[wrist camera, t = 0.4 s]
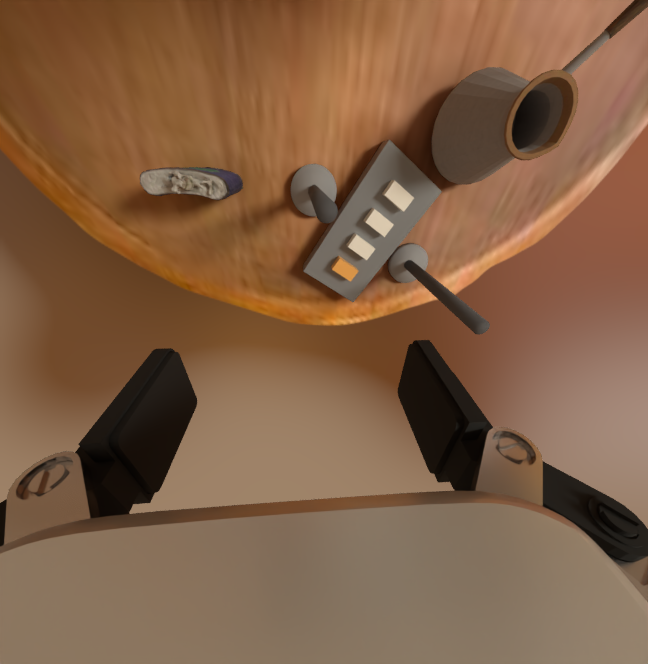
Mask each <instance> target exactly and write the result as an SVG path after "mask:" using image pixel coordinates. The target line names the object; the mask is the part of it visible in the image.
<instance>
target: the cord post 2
mask: <svg viewBox="0 0 648 664" xmlns="http://www.w3.org/2000/svg"><path fill="white" fill-rule="evenodd" d="M427 264H428V256H427V253H426V251H425V250H424V249H423V248H422V247H420V246H419V245H417V244H414V243H407V244H403V245H401V246H399V247H398V248H396V249H395V251H394V252H393V253H392V254H391V256H390V258H389V261H388V270H389V273H390V274H391V276H392V277H393V278H394V279H395V280H397V281H399V282H402V283H408V282H412V281H414V280H416V279H417V280H418V281H419V282H420V283H422V284H423V285H424V286H425V287H426V288H427V289H428V290H429V291H430V292H431V293H432V294H433V295H434V296H435V297H436V298H438V299H439V300H440V301H441V302H442V303H443V304H444V305H445V306H446V307H447V308H448V309H449V310H450V311H452V312H453V313H454V314H455V315H456V316H457V317H458V318H459V319H460V320H461V321H462V322H463V323H464V324H465V325H467V326H468V327H469V328H470V329H471V330H472V331H473V332H474V333H475V334H482V333H484V332H486V331H487V330H488V329H489V326H490V324H489V322H488V321H486V320H485V319H484V318H483V317H481V316H480V315H479V314H477V313H476V312H475V311H474V310H473V309H472V308H470V307H469V306H468V305H467V304H465V303H464V302H463V301H462V300H460V299H459V298H458V297H457V296H455V295H454V294H453V293H452V292H450V291H449V290H448V289H447V288H446V287H444V286H443V285H442V284H441V283H439V282H438V281H437V280H436V279H434V278H433V277H432V276H431V275H429V274H428V273H427V272H426V271H425V269H426V267H427Z"/></svg>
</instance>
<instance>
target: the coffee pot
mask: <svg viewBox="0 0 648 664" xmlns="http://www.w3.org/2000/svg"><path fill="white" fill-rule="evenodd" d="M647 7H648V0H634V1H633V2H632V3H631V4H630V5H629V6H628V7H627V8H626V9H625V10H624V11H623V12H622V13H621V14H620V15H619V16H618V17H617V18H616V19H615V20H614V21H613V22H612V23H611V24H610V25H609V26H608V27H607V28H606V29H605V30H604V32H603V33H602V34H601V35H600V36H598V37H597V38H596V39H595V40H594V41H593V42H592V43H591V44H590V45H588V46H587V47H586V48H585V49H584V50H583V51H582V52H581V53H580V54H579V55H577V56H576V57H575V58H574V59H573V60H572V61H571V62H570V63H569V64H567V65H566V66H565V67H564V68H563V69H562V70H551V71H548V72H545V73H542V74H541V75H539V76H537V77H536V78H534V79H533V80H532V81H531V82H529V81H527V80H526V79H524V78H522V77H520V76H518V75H516V74H514V73H512V72H510V71H508V70H505V69H503V68H494V67H488V68H485V69H482V70H479V71H476V72H474V73H472V74H471V75H469V76H468V77H466V78H465V79H463V80H462V81H461V82H460V83H459V84H458V85H457V86H456V87H455V88H454V89H453V91H452V92H451V93H450V94H449V95H448V97H447V98H446V100H445V102H444V103H443V105H442V107H441V108H440V111H439V113H438V116H437V118H436V121H435V124H434V128H433V134H432V139H431V140H432V155H433V159H434V163H435V166H436V167H437V169H438V171H439V172H440V174H441V175H442V176H443V177H445V178H446V179H447V180H448V181H450V182H453V183H456V184H472V183H475V182H478V181H481V180H483V179H485V178H486V177H488V176H490V175H492V174H493V173H494V172H496V171H497V170H499V169H500V168H501V167H503V166H504V165H506V164H507V163H508V162H510V161H511V160H513V159H514V158H517V159H520V160H531V159H534V158H538V157H540V156H542V155H544V154H546V153H548V152H550V151H551V150H553V149H555V148H556V147H558V146H559V144H560V143H561V141H562V139H563V138H564V136H565V134H566V132H567V130H568V128H569V127H570V125H571V122H572V120H573V117H574V115H575V113H576V108H577V104H578V88H577V84H576V81H575V79H574V78H573V77H572V75H571V74H572V73H573V72H574V71H575V70H576V69H577V68H578V67H579V66H580V65H581V64H582V63H583V62H584V61H586V60H587V59H588V58H589V57H590V56H591V55H592V54H593V53H594V52H595V51H596V50H597V49H598V48H599V47H601V46H602V45H603V44H604V43H605V42H606V41H607V40H608V39H610V38H612V37H613V36H614V35H615V34H616V33H617V32H619V31H620V30H621V29H622V28H623V27H624V26H626V25H627V24H628V23H629V22H630V21H631V20H633V19H634V18H635V17H636V16H637V15H638V14H640V13H641V12H642V11H643V10H644V9H645V8H647Z"/></svg>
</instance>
